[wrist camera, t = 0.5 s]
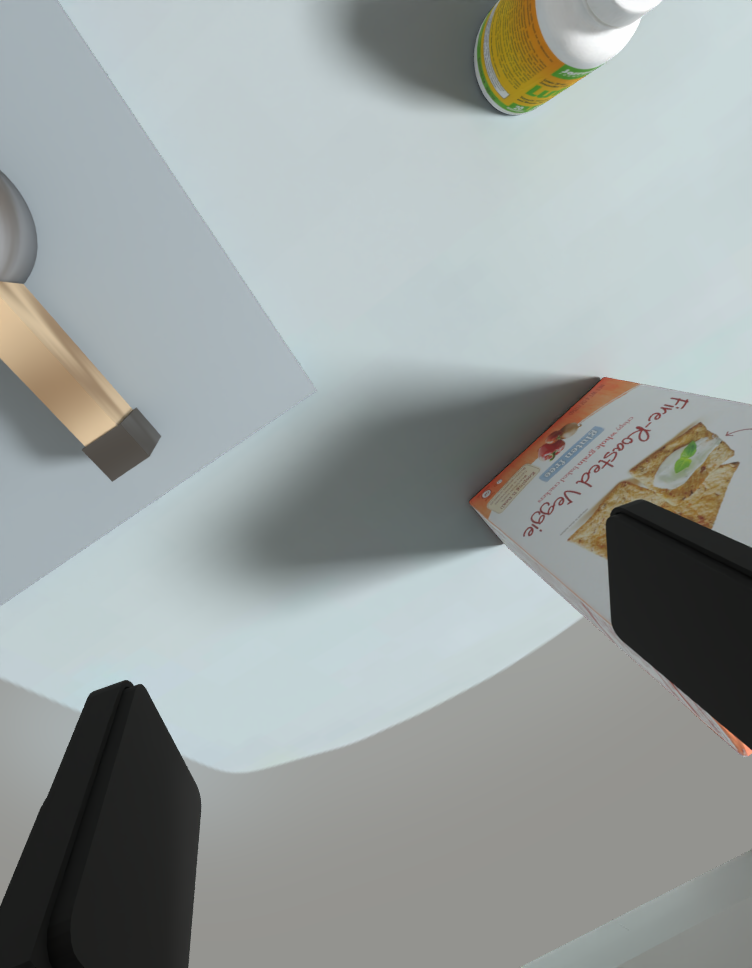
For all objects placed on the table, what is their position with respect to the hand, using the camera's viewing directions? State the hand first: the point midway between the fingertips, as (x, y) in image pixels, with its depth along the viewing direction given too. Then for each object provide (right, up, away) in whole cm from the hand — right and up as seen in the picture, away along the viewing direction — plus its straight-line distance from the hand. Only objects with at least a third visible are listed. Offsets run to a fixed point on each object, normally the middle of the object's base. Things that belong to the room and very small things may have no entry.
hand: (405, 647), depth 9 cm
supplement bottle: (+7, +28, +19) cm, 34 cm away
